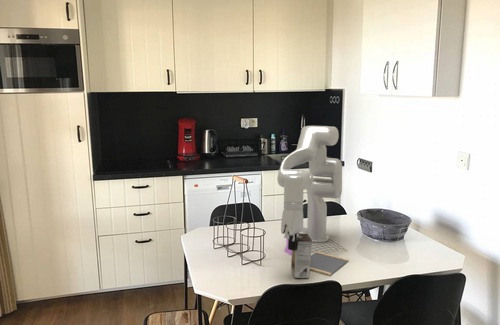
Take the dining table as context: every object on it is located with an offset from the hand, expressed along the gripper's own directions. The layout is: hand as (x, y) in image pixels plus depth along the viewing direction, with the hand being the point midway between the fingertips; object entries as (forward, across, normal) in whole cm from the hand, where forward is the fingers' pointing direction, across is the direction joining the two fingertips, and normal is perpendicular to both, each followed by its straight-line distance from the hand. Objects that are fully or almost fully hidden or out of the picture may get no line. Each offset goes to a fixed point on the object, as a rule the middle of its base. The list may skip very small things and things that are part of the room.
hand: (292, 249), depth 170 cm
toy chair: (+13, -27, -14) cm, 33 cm away
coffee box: (+13, -7, 0) cm, 15 cm away
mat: (+13, -22, +3) cm, 25 cm away
